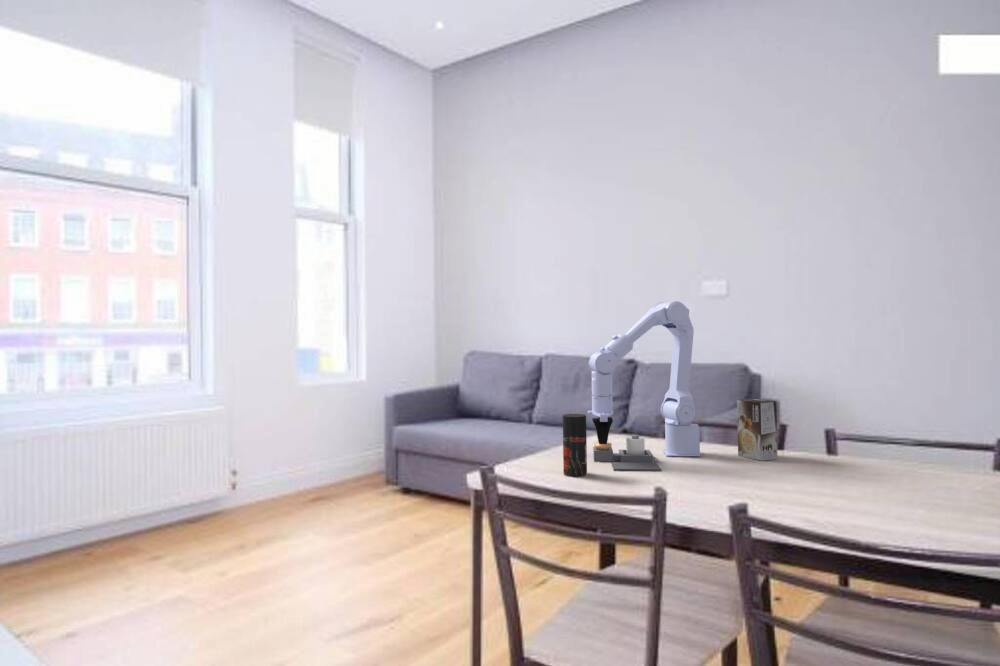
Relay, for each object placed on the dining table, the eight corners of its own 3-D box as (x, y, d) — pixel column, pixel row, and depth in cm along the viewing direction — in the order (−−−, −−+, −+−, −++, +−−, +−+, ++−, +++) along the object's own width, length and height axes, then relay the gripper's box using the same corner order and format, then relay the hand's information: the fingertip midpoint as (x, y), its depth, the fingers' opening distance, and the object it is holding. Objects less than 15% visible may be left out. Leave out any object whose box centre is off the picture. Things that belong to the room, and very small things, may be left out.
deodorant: (588, 476, 165) (587, 416, 165) (564, 477, 165) (563, 417, 165) (585, 471, 171) (584, 413, 171) (562, 471, 171) (561, 413, 171)
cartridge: (643, 458, 186) (643, 434, 186) (645, 461, 182) (645, 437, 181) (625, 458, 187) (625, 434, 187) (627, 461, 182) (627, 437, 182)
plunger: (611, 455, 187) (610, 442, 187) (612, 458, 182) (612, 445, 182) (594, 455, 188) (593, 442, 188) (594, 458, 183) (594, 445, 183)
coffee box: (778, 459, 182) (778, 400, 182) (761, 461, 179) (761, 402, 179) (753, 453, 190) (752, 397, 190) (736, 455, 188) (735, 399, 187)
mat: (656, 464, 178) (656, 462, 178) (661, 471, 170) (661, 469, 170) (611, 464, 179) (611, 462, 179) (613, 470, 171) (613, 468, 171)
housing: (649, 456, 188) (649, 446, 188) (653, 463, 180) (653, 452, 179) (593, 456, 190) (592, 446, 190) (594, 462, 181) (594, 451, 181)
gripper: (586, 392, 192) (587, 439, 193) (588, 398, 178) (589, 448, 178) (611, 392, 192) (612, 439, 192) (615, 398, 177) (615, 448, 178)
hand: (602, 443), depth 185 cm, fingers closed, pressing on plunger
